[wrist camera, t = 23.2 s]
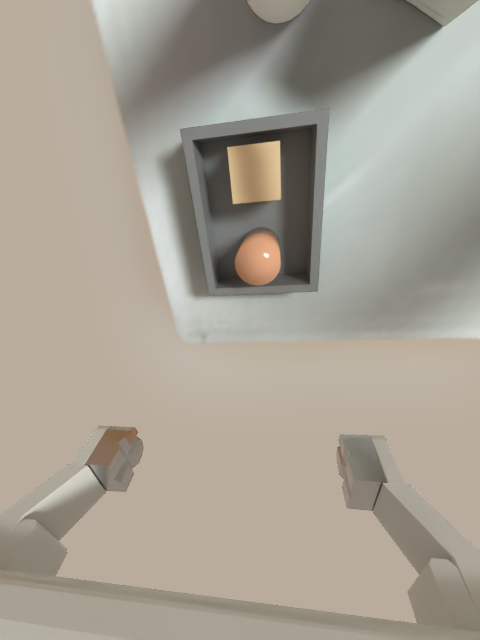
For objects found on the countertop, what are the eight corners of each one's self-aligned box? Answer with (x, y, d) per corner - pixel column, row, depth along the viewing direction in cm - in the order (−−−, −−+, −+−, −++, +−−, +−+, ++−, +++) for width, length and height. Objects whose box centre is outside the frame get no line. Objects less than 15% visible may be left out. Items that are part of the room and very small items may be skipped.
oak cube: (278, 144, 28) (280, 140, 24) (279, 194, 31) (280, 199, 26) (233, 149, 29) (227, 147, 24) (238, 198, 31) (232, 204, 27)
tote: (320, 116, 27) (329, 108, 23) (312, 276, 36) (317, 291, 32) (193, 133, 29) (180, 129, 25) (216, 281, 38) (209, 295, 34)
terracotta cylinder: (284, 232, 33) (286, 247, 27) (274, 268, 35) (273, 289, 29) (246, 223, 33) (239, 236, 27) (239, 260, 35) (231, 279, 29)
